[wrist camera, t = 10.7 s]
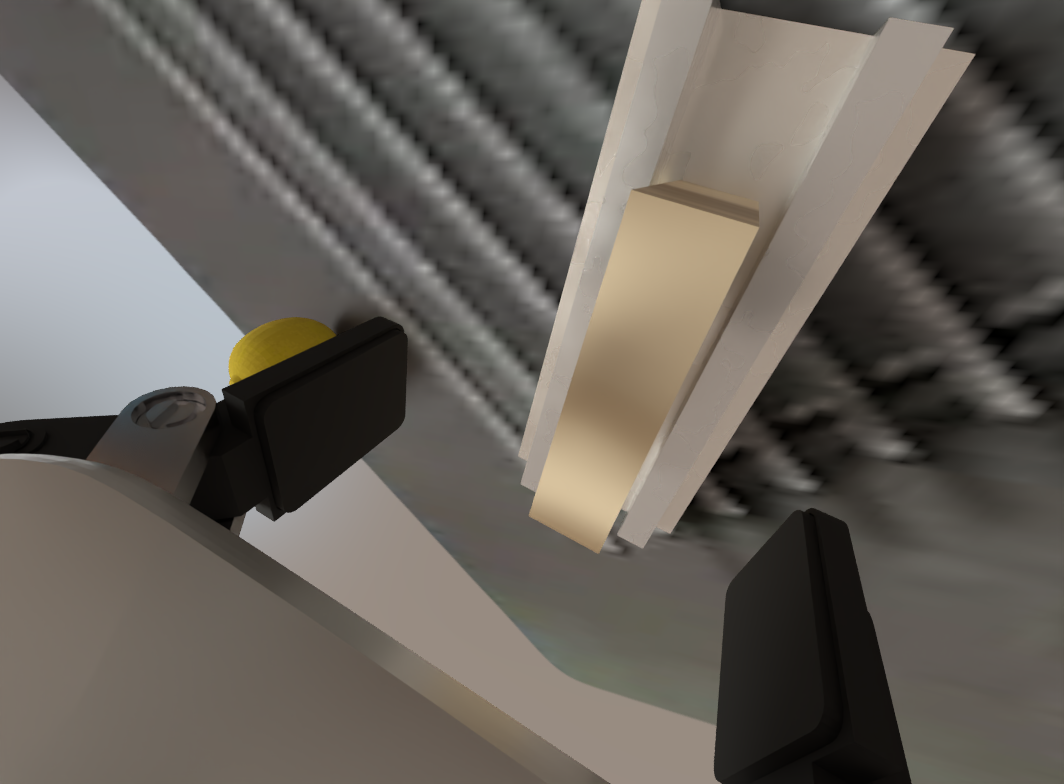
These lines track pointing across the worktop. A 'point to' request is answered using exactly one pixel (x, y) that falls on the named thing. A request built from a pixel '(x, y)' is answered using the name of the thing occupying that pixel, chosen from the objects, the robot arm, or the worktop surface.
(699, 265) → the tan wooden block
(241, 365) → the lemon
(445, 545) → the worktop surface
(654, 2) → the bottom track
